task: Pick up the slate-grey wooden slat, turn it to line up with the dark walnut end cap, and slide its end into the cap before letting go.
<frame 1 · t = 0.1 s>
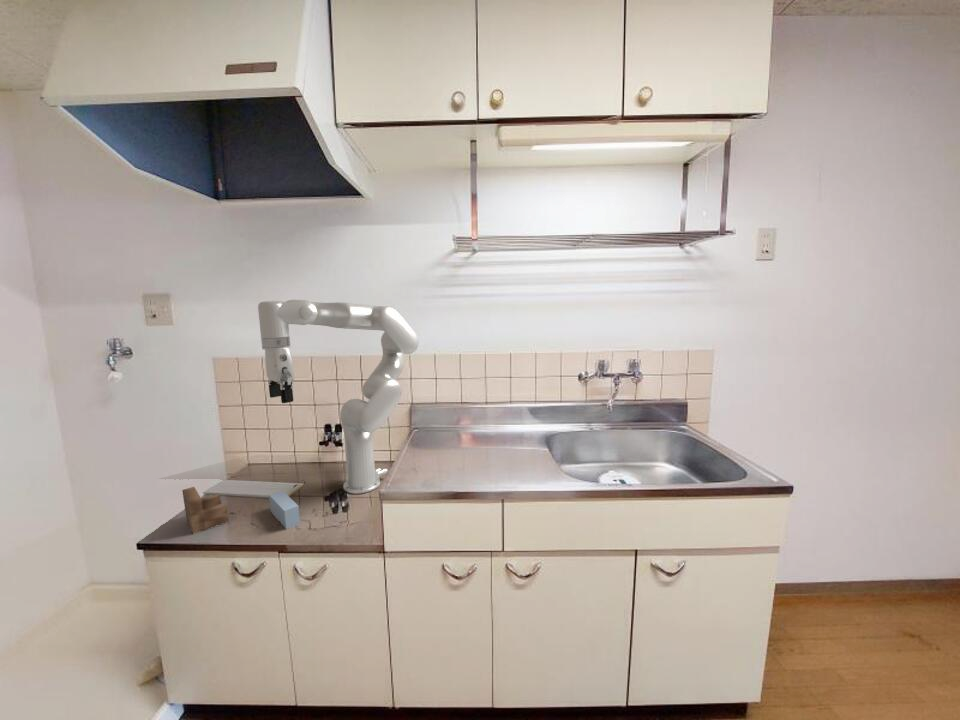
hand: (281, 399, 122), 37 cm above the counter, tool pointing down, fingers open, 9 cm apart
slate slat: (285, 518, 125), on the counter
walnut end cap: (207, 521, 124), on the counter
baseboard molding: (256, 490, 144), on the counter
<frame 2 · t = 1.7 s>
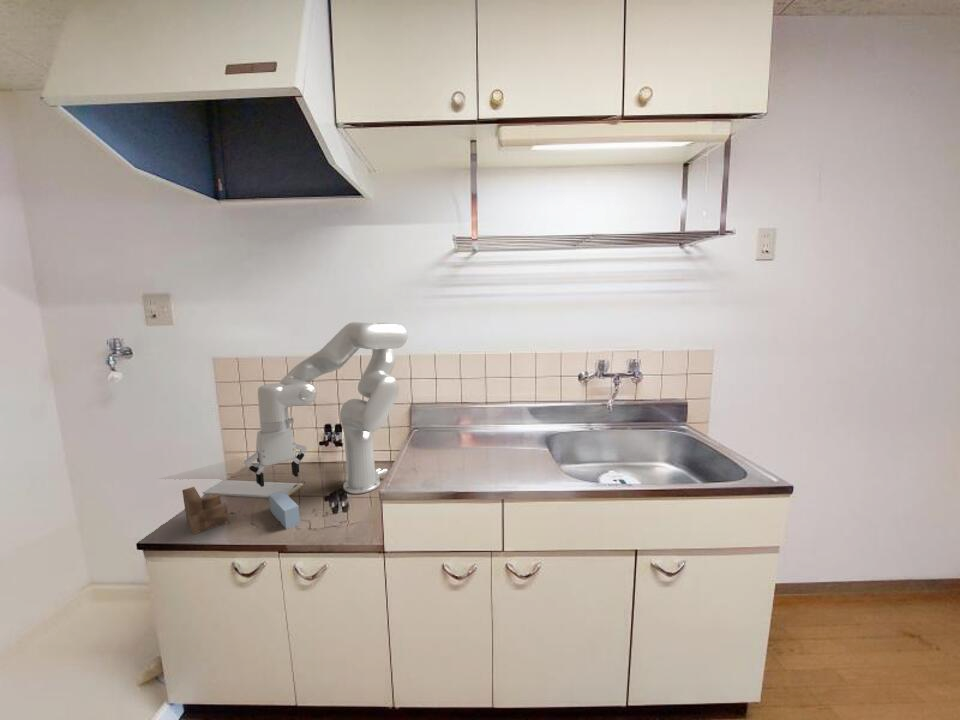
hand: (278, 480, 122), 13 cm above the counter, tool pointing down, fingers open, 9 cm apart
nothing on the counter moved.
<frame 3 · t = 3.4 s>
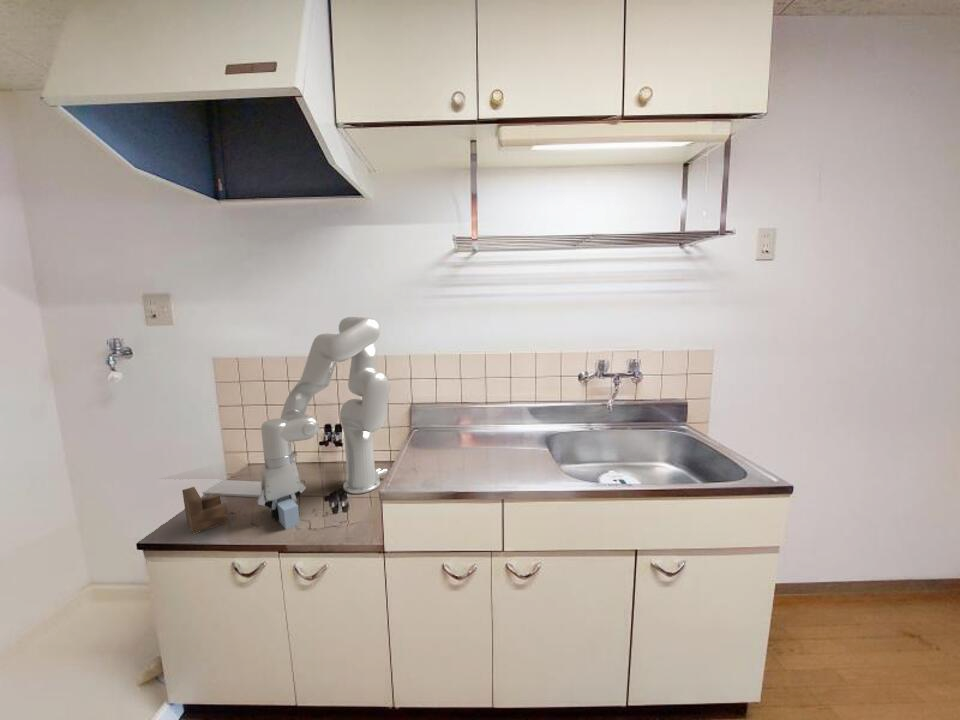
hand: (284, 515, 125), 1 cm above the counter, tool pointing down, fingers closed on slate slat, 4 cm apart
slate slat: (284, 517, 125), on the counter, touching gripper
everything else where it was.
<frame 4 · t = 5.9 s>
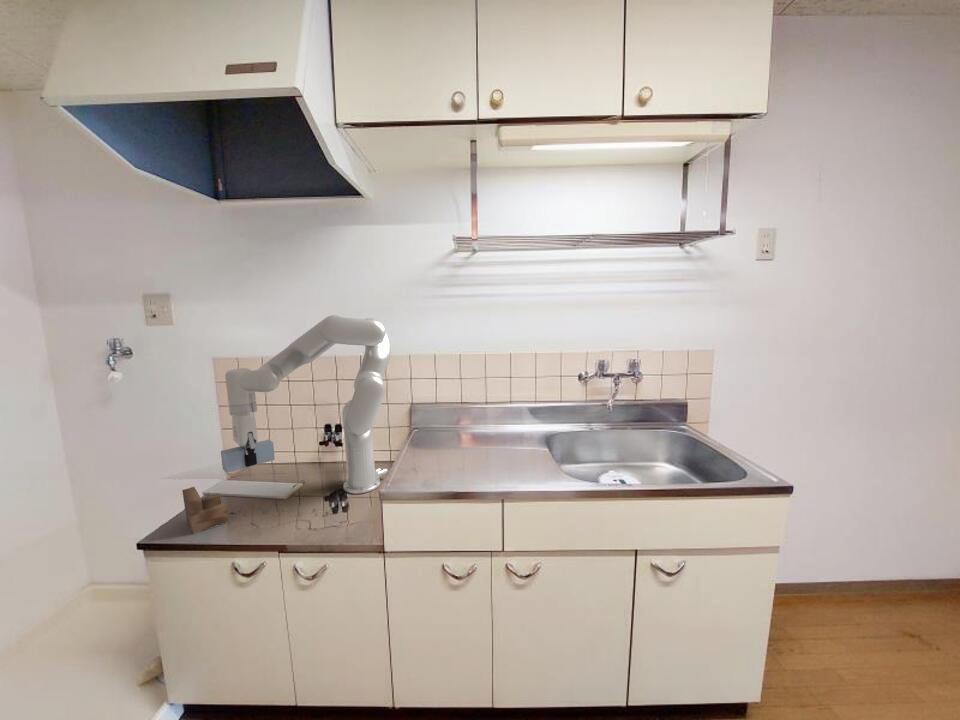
hand: (249, 462, 130), 15 cm above the counter, tool pointing down, fingers closed on slate slat, 4 cm apart
slate slat: (249, 464, 130), point 14 cm above the counter, touching gripper
everything else where it was.
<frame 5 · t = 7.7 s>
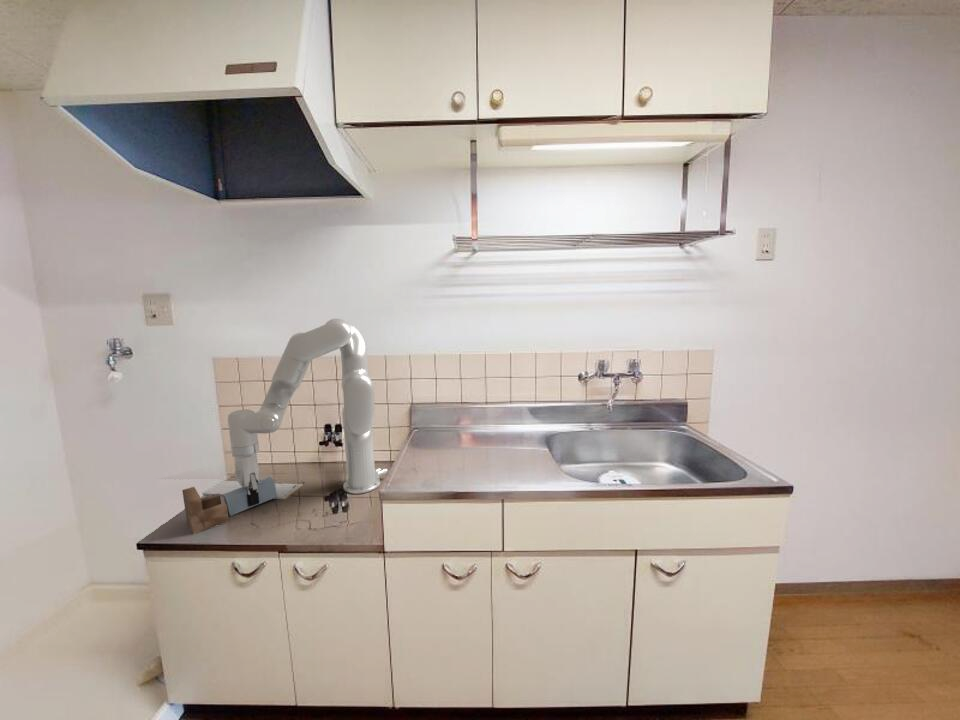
hand: (251, 501, 132), 2 cm above the counter, tool pointing down, fingers closed on slate slat, 4 cm apart
slate slat: (252, 503, 132), point 1 cm above the counter, touching gripper
everything else where it was.
when the fingers open (2 cm above the counter, at t = 8.7 s): slate slat drops 1 cm, on the counter.
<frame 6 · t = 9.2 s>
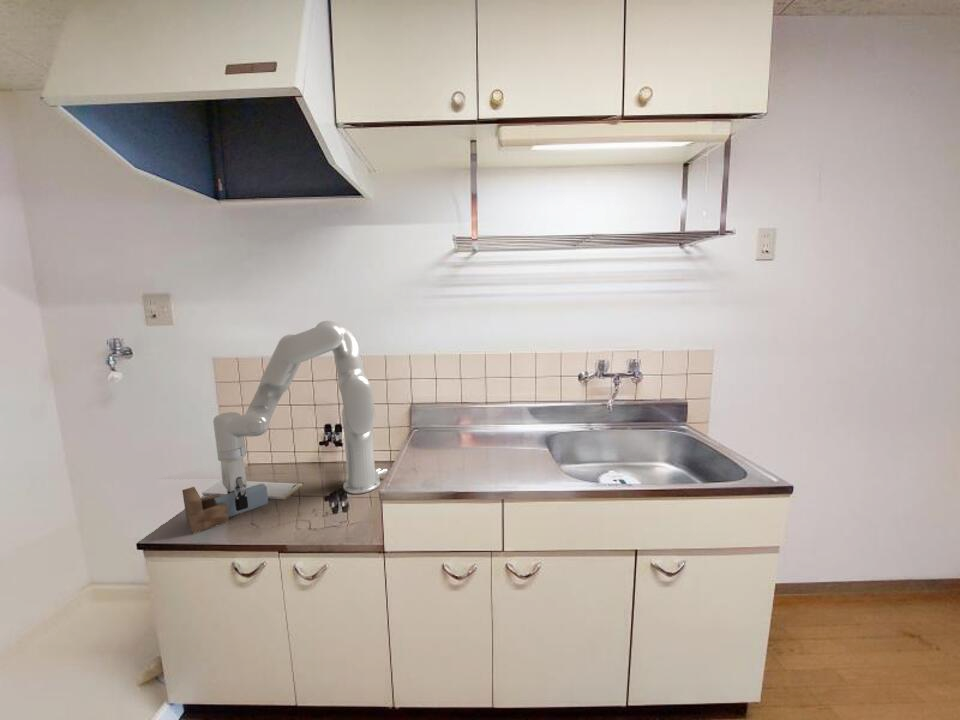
hand: (238, 503, 129), 2 cm above the counter, tool pointing down, fingers open, 9 cm apart
slate slat: (243, 509, 130), on the counter
everything else where it was.
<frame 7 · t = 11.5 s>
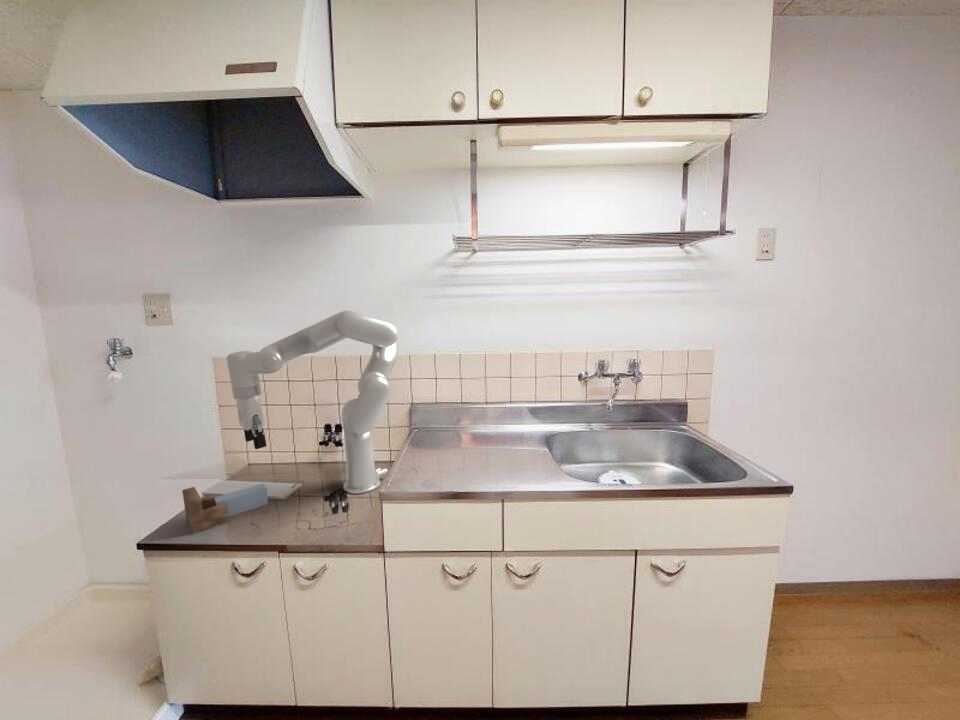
hand: (256, 443, 128), 22 cm above the counter, tool pointing down, fingers open, 9 cm apart
nothing on the counter moved.
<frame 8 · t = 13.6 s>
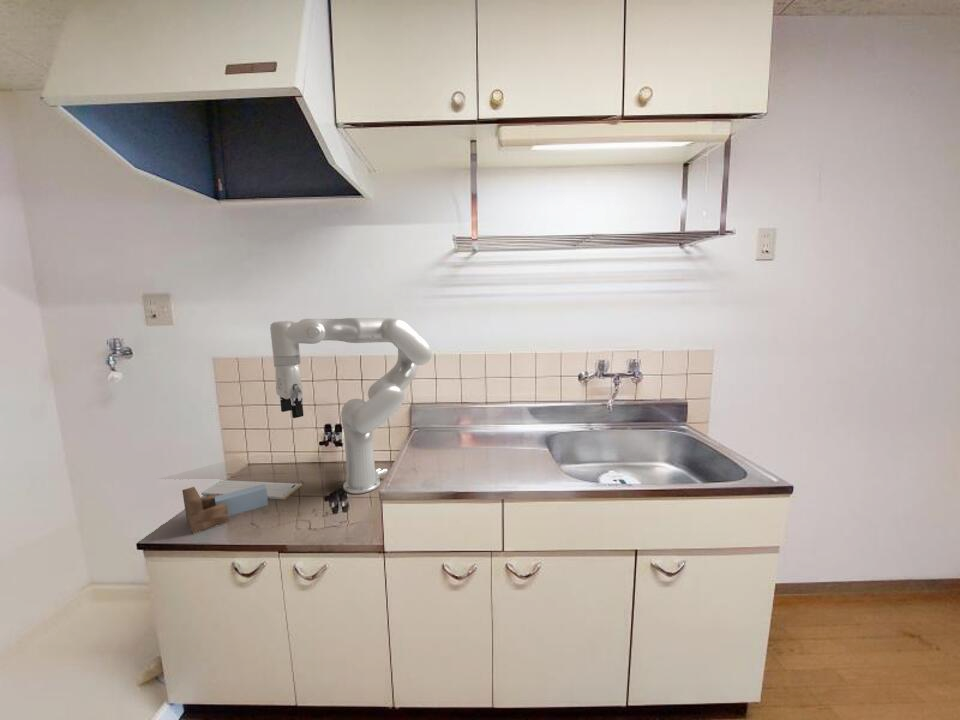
hand: (292, 413, 129), 30 cm above the counter, tool pointing down, fingers open, 9 cm apart
nothing on the counter moved.
at the end: slate slat 1.9 cm from the target spot, on the counter; slate slat tilted 0°; the gripper is holding nothing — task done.
